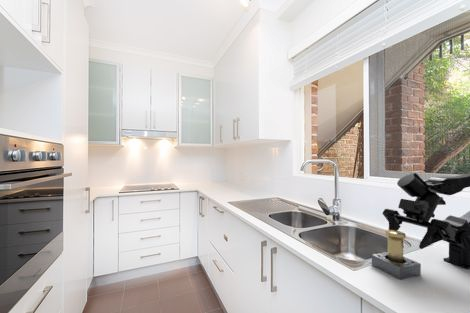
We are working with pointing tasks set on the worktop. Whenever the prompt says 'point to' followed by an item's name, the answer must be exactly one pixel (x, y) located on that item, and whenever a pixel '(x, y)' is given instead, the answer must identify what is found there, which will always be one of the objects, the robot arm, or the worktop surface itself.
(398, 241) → the brass flanged cylinder
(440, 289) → the worktop surface
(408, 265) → the jig
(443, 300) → the worktop surface
